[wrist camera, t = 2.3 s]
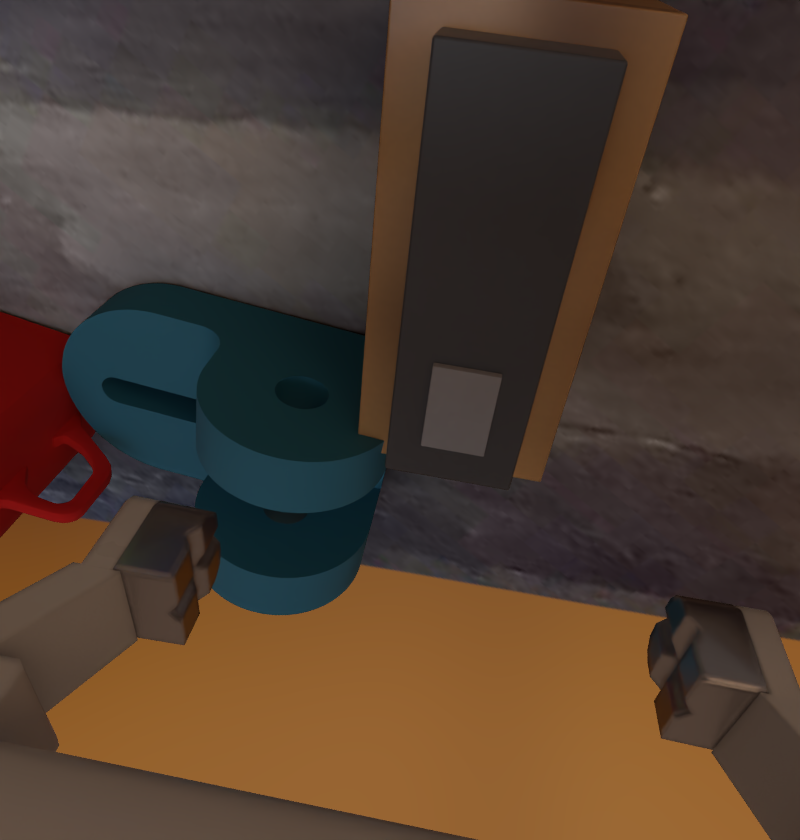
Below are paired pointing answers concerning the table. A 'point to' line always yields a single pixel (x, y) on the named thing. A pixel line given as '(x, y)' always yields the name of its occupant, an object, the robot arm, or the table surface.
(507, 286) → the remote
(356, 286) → the table surface
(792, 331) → the table surface
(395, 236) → the shelf
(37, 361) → the mug
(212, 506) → the bracket
